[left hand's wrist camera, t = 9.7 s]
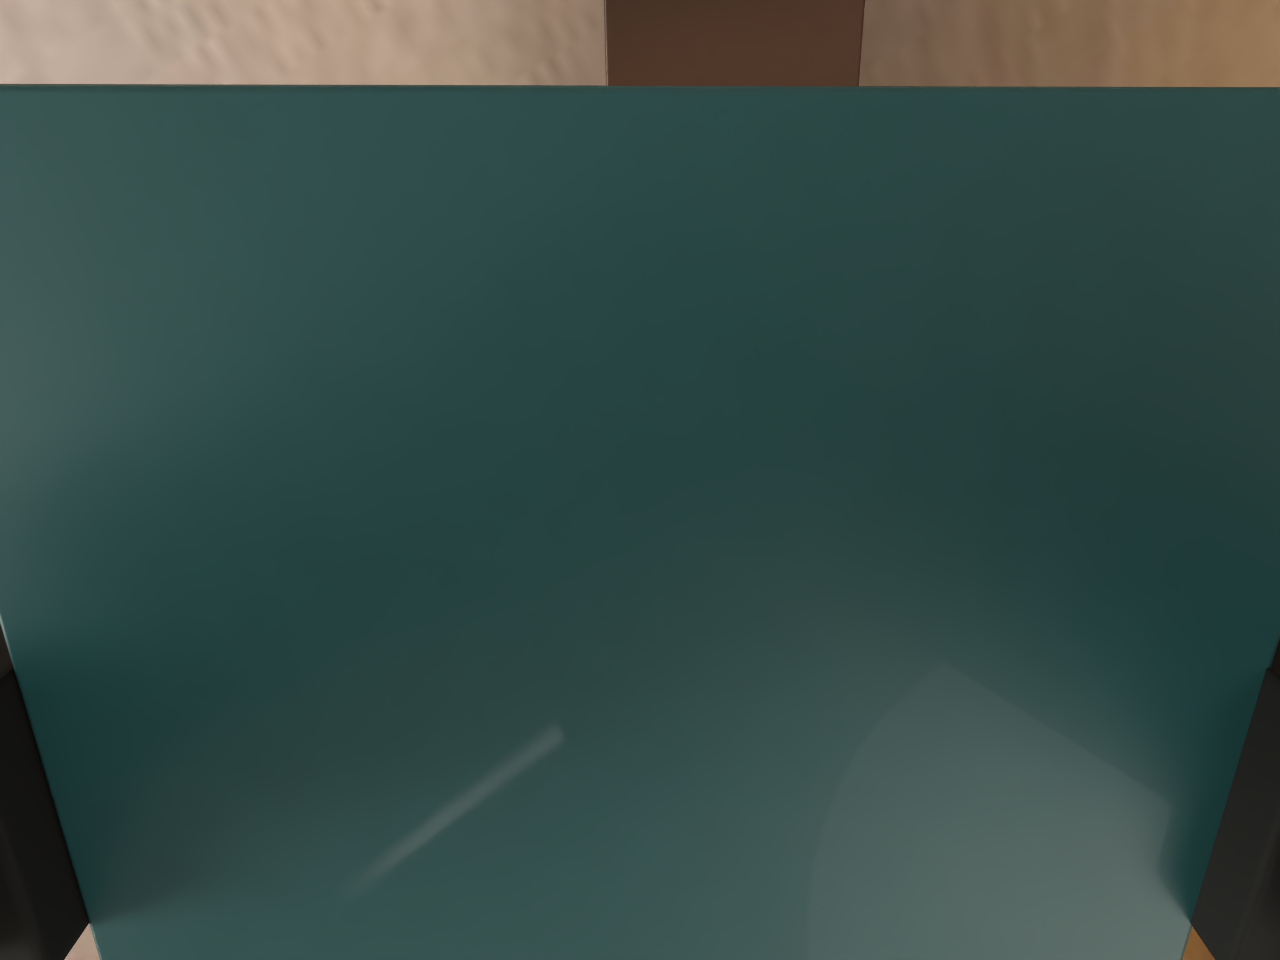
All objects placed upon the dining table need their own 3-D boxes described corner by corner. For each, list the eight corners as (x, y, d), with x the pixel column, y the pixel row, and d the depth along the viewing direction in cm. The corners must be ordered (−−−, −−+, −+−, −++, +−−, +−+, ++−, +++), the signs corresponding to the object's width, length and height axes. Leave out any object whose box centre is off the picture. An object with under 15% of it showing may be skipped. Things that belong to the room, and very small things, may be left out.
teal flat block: (955, 854, 14) (1108, 1207, 10) (322, 856, 14) (172, 1211, 10) (1083, 101, 10) (1451, 88, 6) (198, 99, 10) (-166, 83, 6)
